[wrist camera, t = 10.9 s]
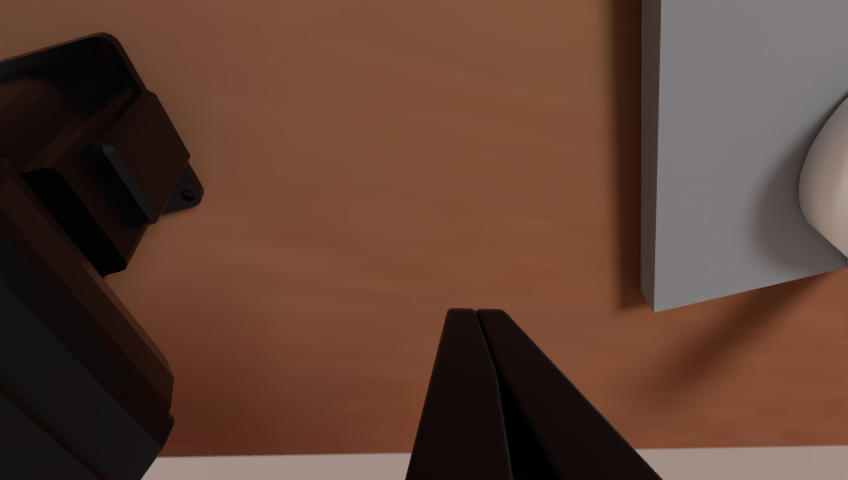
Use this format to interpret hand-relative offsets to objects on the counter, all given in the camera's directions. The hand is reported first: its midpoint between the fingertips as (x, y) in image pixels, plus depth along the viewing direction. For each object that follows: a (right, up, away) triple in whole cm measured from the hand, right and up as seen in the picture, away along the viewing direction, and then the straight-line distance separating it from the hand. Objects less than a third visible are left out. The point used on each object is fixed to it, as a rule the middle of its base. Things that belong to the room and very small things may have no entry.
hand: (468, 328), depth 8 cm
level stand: (+16, +7, +13) cm, 21 cm away
